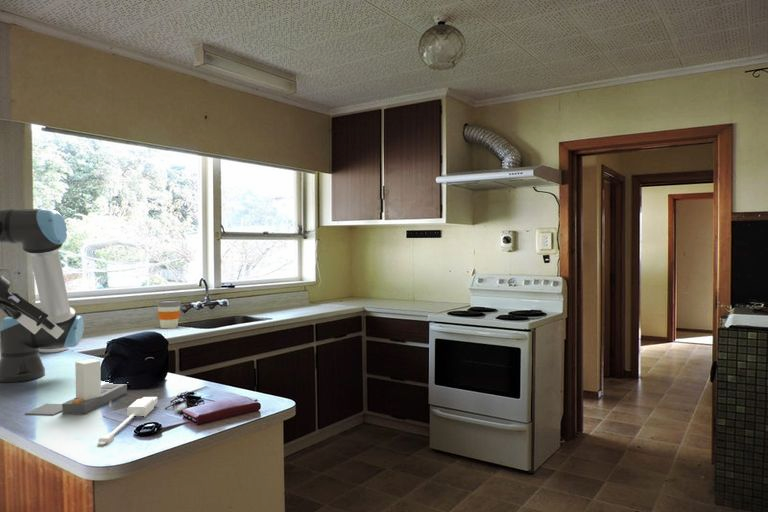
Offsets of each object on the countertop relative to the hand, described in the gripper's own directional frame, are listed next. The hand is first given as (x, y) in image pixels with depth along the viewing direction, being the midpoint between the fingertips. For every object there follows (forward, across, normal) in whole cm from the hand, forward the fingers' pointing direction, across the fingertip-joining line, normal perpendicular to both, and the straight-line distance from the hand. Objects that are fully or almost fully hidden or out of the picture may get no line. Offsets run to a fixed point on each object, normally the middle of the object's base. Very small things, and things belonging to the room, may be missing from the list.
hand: (48, 332), depth 155 cm
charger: (+23, -1, -7) cm, 24 cm away
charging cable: (+25, +23, -10) cm, 36 cm away
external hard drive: (+36, -18, 0) cm, 40 cm away
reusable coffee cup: (+94, -109, +63) cm, 157 cm away
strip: (+30, -5, -4) cm, 31 cm away
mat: (+19, -7, -15) cm, 26 cm away
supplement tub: (+47, -95, +14) cm, 107 cm away
